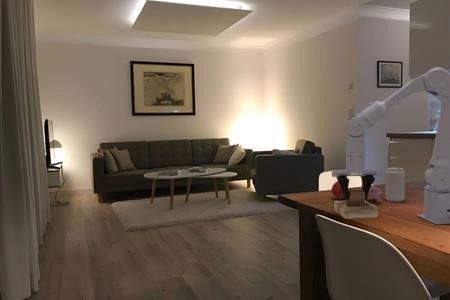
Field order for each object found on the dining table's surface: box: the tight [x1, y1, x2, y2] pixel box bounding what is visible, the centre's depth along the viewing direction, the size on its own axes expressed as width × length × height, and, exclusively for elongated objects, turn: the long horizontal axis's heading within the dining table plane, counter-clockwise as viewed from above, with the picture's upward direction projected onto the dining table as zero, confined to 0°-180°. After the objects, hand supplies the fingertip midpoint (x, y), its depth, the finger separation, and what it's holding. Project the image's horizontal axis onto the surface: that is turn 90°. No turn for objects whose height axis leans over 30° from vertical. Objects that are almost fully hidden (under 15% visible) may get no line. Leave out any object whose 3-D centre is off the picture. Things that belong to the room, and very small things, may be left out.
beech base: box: [333, 200, 379, 220], centre depth 118 cm, size 10×10×3 cm
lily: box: [359, 176, 383, 203], centre depth 135 cm, size 12×12×10 cm
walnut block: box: [344, 188, 366, 207], centre depth 118 cm, size 4×4×5 cm
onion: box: [331, 180, 344, 201], centre depth 139 cm, size 6×6×8 cm
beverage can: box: [384, 167, 406, 203], centre depth 136 cm, size 6×6×12 cm
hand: (355, 198), depth 118 cm, fingers open, 5 cm apart
